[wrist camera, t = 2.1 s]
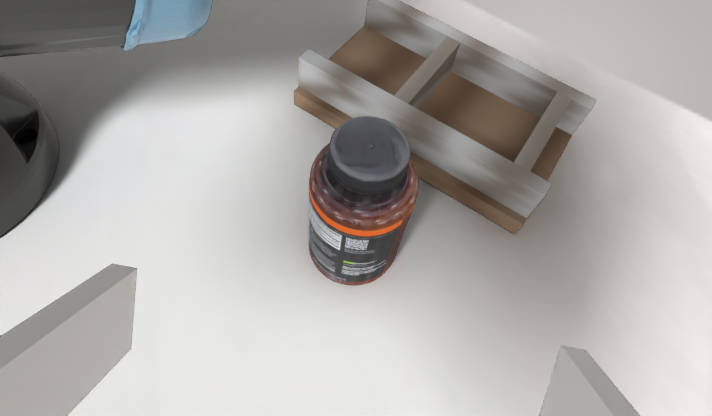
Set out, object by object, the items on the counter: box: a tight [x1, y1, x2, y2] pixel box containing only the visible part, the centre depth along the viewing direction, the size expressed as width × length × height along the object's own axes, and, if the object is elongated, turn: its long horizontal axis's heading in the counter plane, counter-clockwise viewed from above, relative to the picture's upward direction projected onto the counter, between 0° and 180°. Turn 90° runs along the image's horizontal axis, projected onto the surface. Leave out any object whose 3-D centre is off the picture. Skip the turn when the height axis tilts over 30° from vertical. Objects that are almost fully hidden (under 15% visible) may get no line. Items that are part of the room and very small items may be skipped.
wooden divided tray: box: [294, 0, 596, 234], centre depth 37 cm, size 20×12×4 cm, turn 56°
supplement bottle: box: [309, 116, 418, 285], centre depth 28 cm, size 6×6×11 cm
